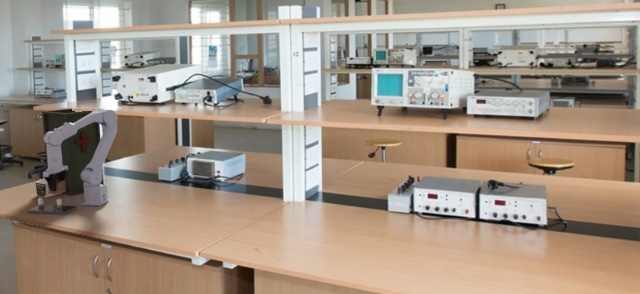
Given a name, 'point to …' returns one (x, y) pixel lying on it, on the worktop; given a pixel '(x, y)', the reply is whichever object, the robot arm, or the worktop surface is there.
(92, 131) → the first aid box
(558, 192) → the worktop surface
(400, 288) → the worktop surface
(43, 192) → the medicine bottle
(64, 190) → the sleeve
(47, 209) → the pin board
